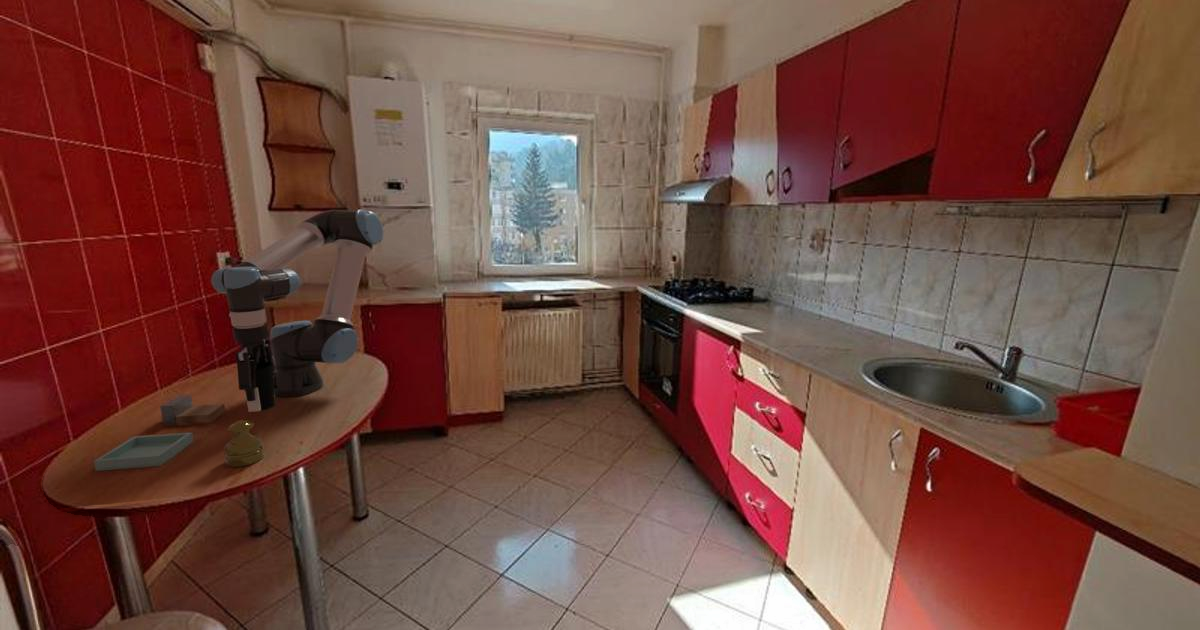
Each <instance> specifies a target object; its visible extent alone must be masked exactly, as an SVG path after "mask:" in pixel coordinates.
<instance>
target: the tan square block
mask: <svg viewBox="0 0 1200 630" xmlns="http://www.w3.org/2000/svg"><path fill="white" fill-rule="evenodd" d="M225 412H226V407H225V403H220V404H219V403H218V404H217V403H216V404H200V405H199V404H198V405H197V404H196V405H193V406H192V407H190V408H189V409H187V410H185V411H184V412H182V413H181V414H179V415H177V416H176V422H177V425H176V426H187V425H201V424H210V423H212V422H213V421H214V420H216V419H217V418H219V417H221V415H223V414H224V413H225Z"/></svg>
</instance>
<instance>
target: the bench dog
mask: <svg viewBox="0 0 1200 630" xmlns="http://www.w3.org/2000/svg"><path fill="white" fill-rule="evenodd" d="M192 406H194V405H193V399H192V394H183V395H178V396H176V397H174V398H172V399H169V401H167V402H165V403H164V404H162V405H160V413H161V418H162V419H161V420H162V422H163V427H171V426H174V427H175V426H178V425H177V422H176V416H177V415H179V414H181V413H182V412H184V411H185V410H187V409H189V408H190V407H192Z"/></svg>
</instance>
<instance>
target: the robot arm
mask: <svg viewBox="0 0 1200 630" xmlns="http://www.w3.org/2000/svg"><path fill="white" fill-rule="evenodd" d="M383 239H384V228H383V224H382V222H381V220H380V217H379V216H378V215H377V214H376V213H374V212H373V211H371V210H364V209H329V210H325V211H323V212H320V213H317V214H315V215H313V216H311V217H309V218H307V219H305V220H303V221H302V222H300V223H299V224H298V225H297V227H296V229H294V230H293V231H291V232H290V233H289V234H286V235H285V236H284V237H282V238H280V239H279V240H277V241H275V242H274V243H272V244H270V245H268V246H267V247H265V248H263V249H262V250H261V251H259V252H257V253H256V254H254V255H252V256H251V257H249V258H247V259H246V260H244V261H241V262H240V263H239V264H237V265H235V266H234V267H223V268H218V269H217V270H216V271H214V272H213V273H212V276H211V281H210V282H211V285H212V287H213V289H214V290H215V291H216V292H218V293H220V294H224V295H226V298H227V305H228V311H229V314H228V317H229V318H230V321H231V326H233V328H232V336H233V340H234V342H237V343H239V344H241V345H240V346H241V348H240V350H241V351H240V352H236V353H235V354H234V356H235V360H236V368H237V378H238V379H237V380H238V389H239V390H240V391H244V392H245V399H246V405H247V410H248V412H249V413H250V412H251V413H252V412H262V411H261V405H260V398H259V392H258V387H256V374H255V370H256V366H259V367H265V366H267V362H271V363H273V369H274V399H275V398H276V397H279V398H281V397H282V398H290V397H299V396H302V395H303V396H304V395H308V394H312V393H314V392H317V391H319V390H321V389H322V388H323V387H324V385H325V384H324V378H323V377H322V374H321V372H320V370H319V369H318V366H317V364H316V363H322V364H323V363H324V364H329V365H330V364H331V365H333V364H343V363H346V362H348V361H349V360H351V358H353V356H354V355H355V354H356V352H357V350H358V346H359V338H358V337H359V336H358V333H357V332H356V330H354V328H355V325H354V323H353V322H352V321H351V318H352V315H353V311H354V308H355V307H354V306H355V302H356V298H357V293H358V289H359V285H360V281H361V276H362V271H363V268H364V264H365V261H366V260H365V259H366V256H367V255H368V254H371V253H372V251H373V246H374V245H375V246H376V245H379V243H381V242H382V240H383ZM329 244H335V246H336V247H337V253H336V257H335V259H334V265H333V268H332V272H331V276H330V279H329V285H328V287H327V291H326V296H325V299H324V300H325V301H324V304H323V308H322V312H321V314H320V316H318V317H316V318H315V319H314V322H313V324H312V321H310V320H308V319H307V320H297V321H290V322H284V323H280V324H277V325H275V326H273V327H271V328H270V338H269V328H268V325H267V324H266V323H267V322H268V320H267V316H266V308H265V301H266V300H271V299H274V298H280V297H284V296H285V297H287V296H290V295H292V294H296V293H297V292H298V291H299V290H300V287H301V279H300V277H299V275H298V273H297V272H296V271H294V270H293V269H290V268H286V267H287V266H288V265H290V264H292V263H293V262H294V261H297V260H298V259H299V258H301V257H303V256H304V255H305V254H307V253H308V252H310V251H311V250H313V249H319V248H321V247H323V246H324V245H329ZM268 338H269V339H268ZM255 387H256V388H255Z"/></svg>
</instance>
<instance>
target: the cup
mask: <svg viewBox="0 0 1200 630" xmlns="http://www.w3.org/2000/svg"><path fill="white" fill-rule="evenodd" d="M255 374H256V387H258V392H259V398H260V405H261V411H260V412H262V411H267V410H269V409H272V408H274V407H275V405H276V403H275V400H276V399H275V398H274V369H273V363H271V362H267V366H265V367H259V366H256V370H255ZM256 387H255V388H256Z"/></svg>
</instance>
